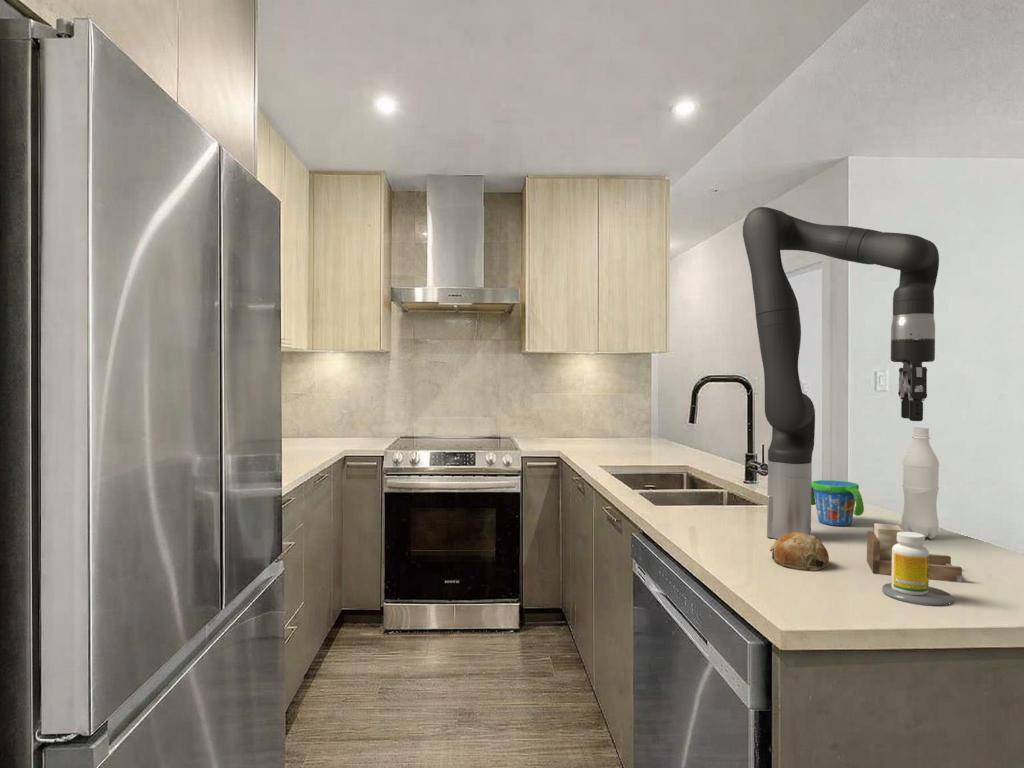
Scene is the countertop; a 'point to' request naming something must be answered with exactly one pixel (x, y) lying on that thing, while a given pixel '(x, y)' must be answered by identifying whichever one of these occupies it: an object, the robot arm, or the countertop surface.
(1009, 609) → the countertop surface
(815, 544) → the bread roll
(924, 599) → the coaster
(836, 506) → the snack cup
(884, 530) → the rack
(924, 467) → the water bottle
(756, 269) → the robot arm
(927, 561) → the supplement bottle
